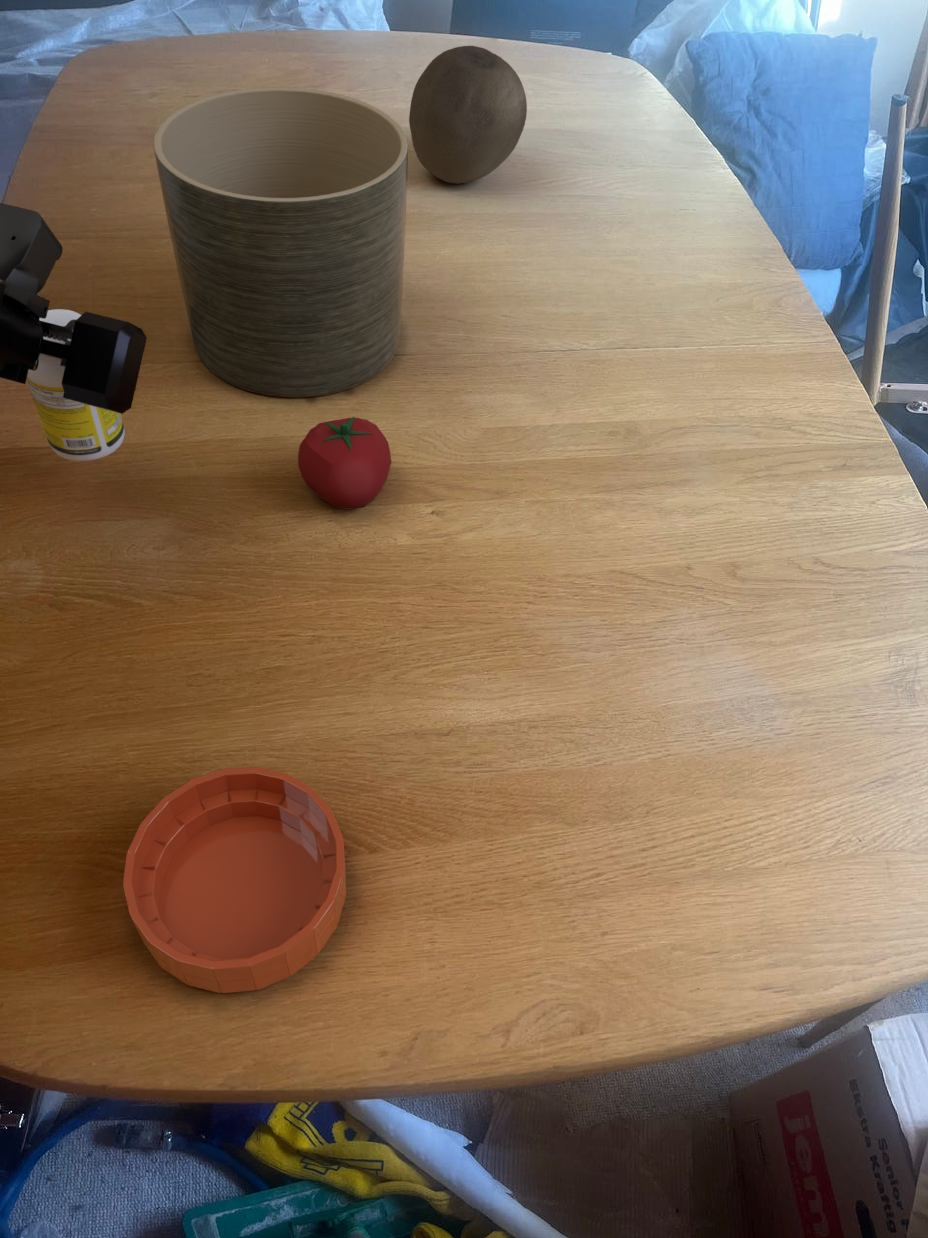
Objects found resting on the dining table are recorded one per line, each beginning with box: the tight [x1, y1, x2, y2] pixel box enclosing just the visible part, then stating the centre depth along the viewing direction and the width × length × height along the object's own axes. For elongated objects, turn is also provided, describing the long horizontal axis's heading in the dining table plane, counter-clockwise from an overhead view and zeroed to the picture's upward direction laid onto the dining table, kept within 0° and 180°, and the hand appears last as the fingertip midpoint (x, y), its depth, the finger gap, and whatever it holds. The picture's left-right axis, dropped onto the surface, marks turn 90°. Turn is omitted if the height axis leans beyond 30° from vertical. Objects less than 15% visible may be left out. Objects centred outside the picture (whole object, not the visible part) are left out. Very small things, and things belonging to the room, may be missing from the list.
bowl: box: [122, 766, 347, 994], centre depth 60 cm, size 13×13×4 cm
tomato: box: [297, 416, 392, 510], centre depth 83 cm, size 8×8×7 cm
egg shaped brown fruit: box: [408, 45, 528, 184], centre depth 119 cm, size 14×14×15 cm
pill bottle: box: [26, 308, 126, 462], centre depth 77 cm, size 6×6×11 cm
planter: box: [152, 86, 409, 398], centre depth 93 cm, size 22×22×20 cm
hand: (78, 365), depth 77 cm, fingers closed on pill bottle, 6 cm apart
